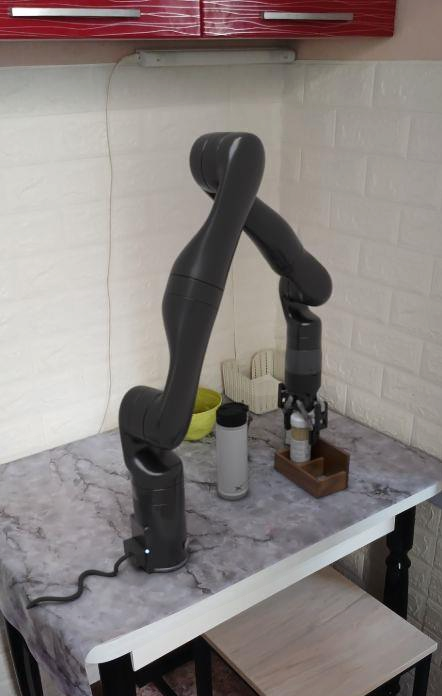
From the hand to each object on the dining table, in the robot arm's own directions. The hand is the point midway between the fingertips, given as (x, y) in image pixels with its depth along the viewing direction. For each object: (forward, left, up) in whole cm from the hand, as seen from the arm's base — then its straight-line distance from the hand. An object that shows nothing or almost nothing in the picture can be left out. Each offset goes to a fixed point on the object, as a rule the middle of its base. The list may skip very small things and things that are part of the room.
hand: (301, 436), depth 162 cm
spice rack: (0, -4, -8) cm, 9 cm away
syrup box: (+8, +10, -9) cm, 15 cm away
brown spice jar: (0, 0, -9) cm, 9 cm away
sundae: (-8, +12, -9) cm, 17 cm away
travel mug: (-17, 0, -9) cm, 19 cm away
